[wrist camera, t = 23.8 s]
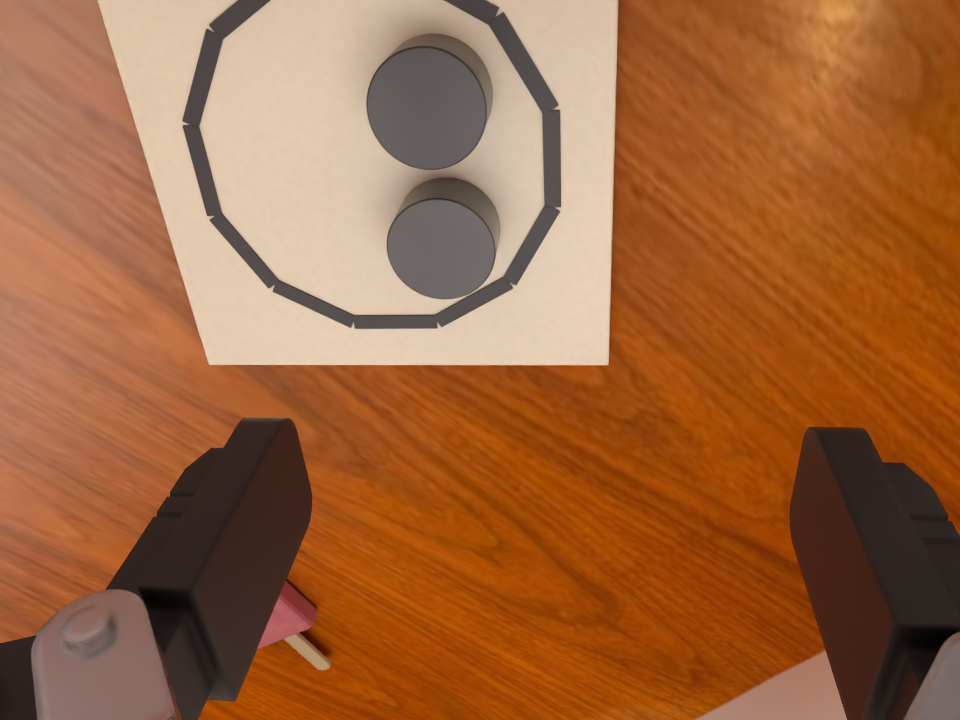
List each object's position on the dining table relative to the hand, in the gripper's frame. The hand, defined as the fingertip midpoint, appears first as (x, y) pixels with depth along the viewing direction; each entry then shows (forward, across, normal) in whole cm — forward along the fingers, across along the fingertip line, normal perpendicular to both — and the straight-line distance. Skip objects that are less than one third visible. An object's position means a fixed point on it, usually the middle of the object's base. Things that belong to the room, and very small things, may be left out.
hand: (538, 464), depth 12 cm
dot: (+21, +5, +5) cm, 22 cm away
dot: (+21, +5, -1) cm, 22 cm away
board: (+22, +8, +2) cm, 24 cm away
